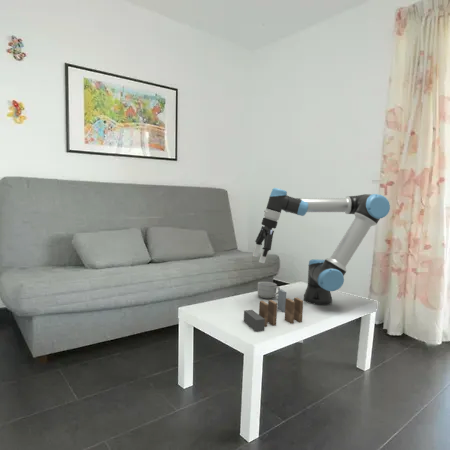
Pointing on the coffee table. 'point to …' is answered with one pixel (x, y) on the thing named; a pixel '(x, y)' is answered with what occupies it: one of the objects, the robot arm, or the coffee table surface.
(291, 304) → the domino
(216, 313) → the coffee table surface
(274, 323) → the domino
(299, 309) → the domino
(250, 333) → the coffee table surface
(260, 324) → the block
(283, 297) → the domino
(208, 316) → the coffee table surface
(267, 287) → the teacup
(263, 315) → the domino
